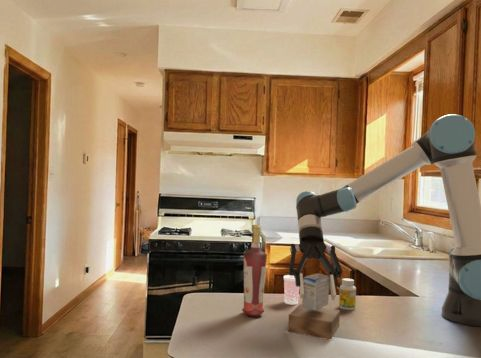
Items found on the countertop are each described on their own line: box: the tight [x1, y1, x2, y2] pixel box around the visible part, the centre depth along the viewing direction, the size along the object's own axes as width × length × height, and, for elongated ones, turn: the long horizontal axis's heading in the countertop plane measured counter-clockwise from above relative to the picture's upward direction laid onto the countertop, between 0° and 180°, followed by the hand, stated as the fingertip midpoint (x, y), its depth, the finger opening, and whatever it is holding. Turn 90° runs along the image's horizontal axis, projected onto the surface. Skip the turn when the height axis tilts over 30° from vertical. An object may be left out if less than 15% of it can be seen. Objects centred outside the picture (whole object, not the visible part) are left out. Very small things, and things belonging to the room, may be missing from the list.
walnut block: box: [287, 303, 341, 340], centre depth 117 cm, size 12×12×5 cm
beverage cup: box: [283, 274, 300, 306], centre depth 142 cm, size 6×6×14 cm
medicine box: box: [301, 273, 330, 310], centre depth 117 cm, size 8×4×9 cm, turn 141°
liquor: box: [241, 224, 268, 318], centre depth 127 cm, size 7×7×28 cm
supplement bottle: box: [338, 277, 357, 311], centre depth 139 cm, size 5×5×10 cm
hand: (318, 296), depth 114 cm, fingers closed on medicine box, 8 cm apart
